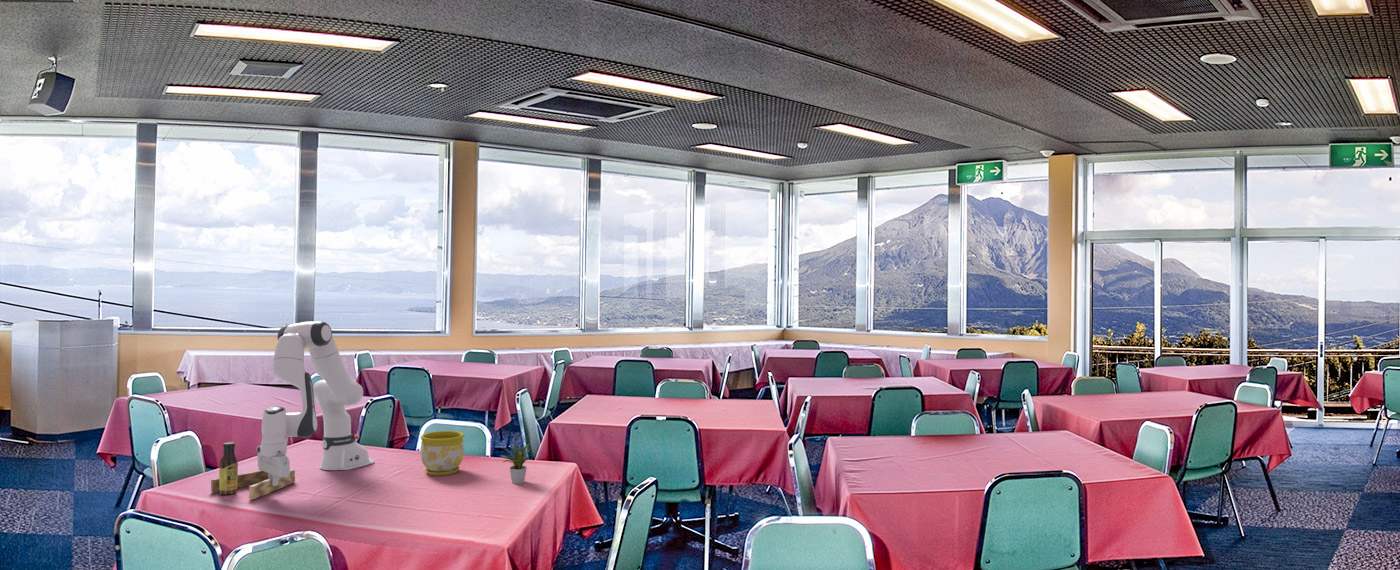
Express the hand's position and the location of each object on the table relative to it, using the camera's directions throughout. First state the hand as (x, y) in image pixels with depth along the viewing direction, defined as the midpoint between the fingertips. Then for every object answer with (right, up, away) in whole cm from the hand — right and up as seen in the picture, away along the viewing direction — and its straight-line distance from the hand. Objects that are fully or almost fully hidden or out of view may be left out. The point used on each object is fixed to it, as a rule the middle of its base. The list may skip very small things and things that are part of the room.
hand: (273, 485), depth 309 cm
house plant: (+89, -5, +26) cm, 93 cm away
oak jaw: (-5, -4, +8) cm, 10 cm away
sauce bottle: (-20, -5, +4) cm, 21 cm away
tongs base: (-16, -4, +12) cm, 20 cm away
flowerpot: (+53, -4, +39) cm, 66 cm away
